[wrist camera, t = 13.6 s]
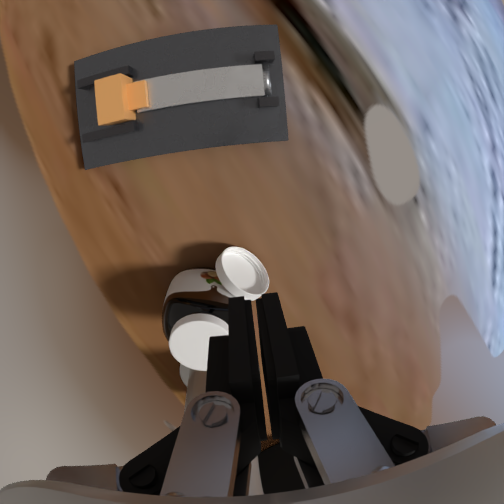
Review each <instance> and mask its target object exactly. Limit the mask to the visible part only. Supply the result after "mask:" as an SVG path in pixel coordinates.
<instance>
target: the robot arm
mask: <svg viewBox="0 0 504 504" xmlns="http://www.w3.org/2000/svg"><path fill="white" fill-rule="evenodd" d="M256 307H257V317H258V327H259V338H260V348H261V358H262V366H263V374H264V381H265V388H266V395H267V402H268V410H269V417H270V424H271V431H272V438H273V439H279V441H280V447H282V450H284V451H286V452H288V453H289V454H291V455H293V456H294V460H295V463H296V466H297V468H298V471H299V473H300V476H301V478H302V481H303V483H304V486H305V488H306V489H301V490H294V491H288V492H280V493H272V494H264V492H263V488H262V483H261V478H260V471H259V463H258V455H259V454H260V453H261V442H260V441H264V440H267V434H266V425H265V416H264V407H263V397H262V388H261V379H260V368H259V363H258V355H257V347H256V338H255V330H254V322H253V314H252V305H251V300H245V299H244V296H240V297H230V298H228V335H223V336H211V337H210V338H209V347H208V361H207V371H199V370H194V369H191V368H188V367H186V366H184V365H182V364H181V363H180V376H181V379H182V381H183V383H184V384H185V385H186V386H187V394H186V402H185V411H184V416H183V419H182V423H181V426H179V427H178V428H177V429H175V430H174V431H173V432H171V433H170V434H168V435H167V436H166V437H164V438H163V439H161V440H160V441H158V442H157V443H155V444H154V445H153V446H151V447H150V448H148V449H147V450H145V451H144V452H142V453H141V454H139V455H138V456H136V457H135V458H133V459H132V460H130V461H129V462H128V463H127V464H125V465H124V466H120V467H118V466H117V465H116V464H108V465H92V466H61V467H56V468H55V469H53V470H52V471H50V473H49V474H48V476H47V478H46V480H29V481H21V482H16V483H12V484H9V485H7V486H5V487H3V488H2V489H1V490H0V504H504V423H503V424H499V425H496V424H495V422H494V421H492V420H491V419H490V418H487V417H483V416H482V417H474V418H470V419H465V420H460V421H456V422H450V423H445V424H439V425H434V426H427V428H426V429H425V430H419V429H417V428H415V427H413V426H410V425H407V424H404V423H401V422H398V421H396V420H393V419H390V418H388V417H385V416H382V415H380V414H377V413H374V412H372V411H369V410H367V409H364V408H362V407H359V406H357V404H356V403H355V401H354V400H353V398H352V397H351V395H350V393H349V392H348V390H347V389H346V388H345V387H344V386H343V385H342V384H340V383H339V382H337V381H334V380H330V379H323V377H322V374H321V371H320V369H319V366H318V363H317V360H316V357H315V354H314V351H313V348H312V345H311V343H310V340H309V337H308V334H307V331H306V329H305V327H304V326H301V327H294V328H287V326H286V322H285V319H284V315H283V311H282V308H281V304H280V300H279V297H278V293H277V292H276V293H267V294H262V298H260V299H256Z"/></svg>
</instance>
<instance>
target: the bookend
mask: <svg viewBox="0 0 504 504" xmlns="http://www.w3.org/2000/svg"><path fill="white" fill-rule="evenodd" d="M258 463H259V471H260V478H261V483H262V488H263V492H264V494H272V493H280V492H288V491H294V490H301V489H306V488H305V486H304V483H303V481H302V478H301V476H300V473H299V471H298V468H297V466H296V463H295V460H294V456H293V455H291V454H289V453H288V452H286V451H284V450H282V447H280V443H278V444H277V445H274V446H272V447H271V448H269V449H267V450H264V451H263V452H261V453H260V454H259V455H258Z"/></svg>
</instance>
